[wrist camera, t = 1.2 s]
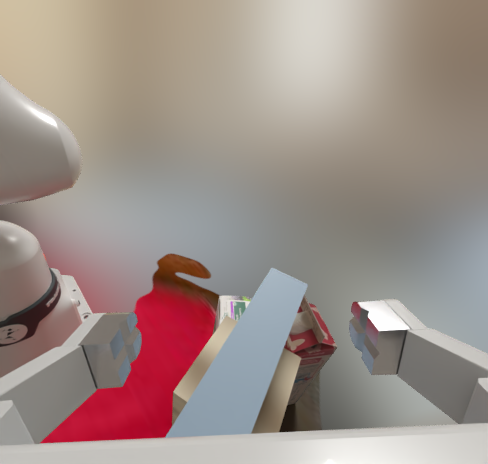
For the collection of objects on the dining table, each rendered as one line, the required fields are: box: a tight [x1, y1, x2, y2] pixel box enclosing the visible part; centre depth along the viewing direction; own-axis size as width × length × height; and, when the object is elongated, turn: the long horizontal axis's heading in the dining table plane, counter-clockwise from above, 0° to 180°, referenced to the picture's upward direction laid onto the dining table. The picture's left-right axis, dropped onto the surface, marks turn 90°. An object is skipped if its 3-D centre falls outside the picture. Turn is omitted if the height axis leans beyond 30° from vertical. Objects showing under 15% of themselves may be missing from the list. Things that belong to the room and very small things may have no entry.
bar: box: [165, 268, 308, 438], centre depth 17 cm, size 22×4×4 cm, turn 154°
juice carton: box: [284, 295, 337, 405], centre depth 38 cm, size 7×7×22 cm
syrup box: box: [213, 296, 251, 334], centre depth 43 cm, size 6×6×14 cm
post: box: [172, 315, 301, 434], centre depth 27 cm, size 8×8×26 cm
